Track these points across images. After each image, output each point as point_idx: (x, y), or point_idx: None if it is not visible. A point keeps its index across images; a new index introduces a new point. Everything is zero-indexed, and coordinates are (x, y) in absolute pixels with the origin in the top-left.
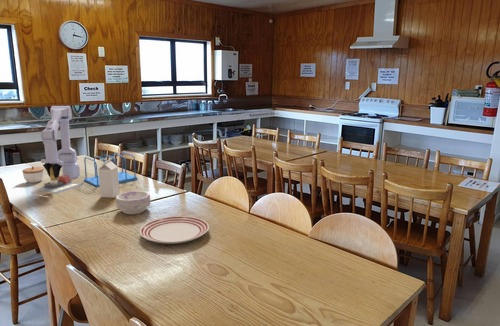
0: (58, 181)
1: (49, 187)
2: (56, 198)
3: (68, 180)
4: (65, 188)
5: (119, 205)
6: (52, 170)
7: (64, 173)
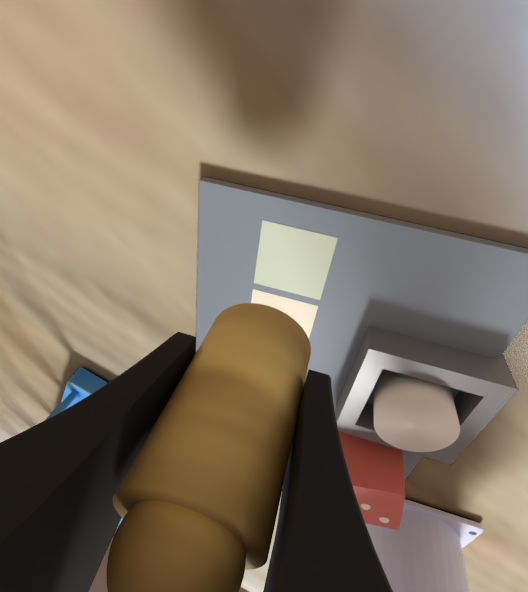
0: None
1: (428, 341)
2: (104, 35)
3: None
4: None
5: None
6: (157, 461)
7: (428, 566)
